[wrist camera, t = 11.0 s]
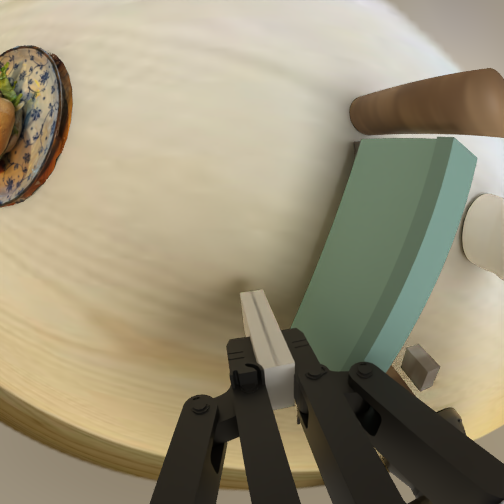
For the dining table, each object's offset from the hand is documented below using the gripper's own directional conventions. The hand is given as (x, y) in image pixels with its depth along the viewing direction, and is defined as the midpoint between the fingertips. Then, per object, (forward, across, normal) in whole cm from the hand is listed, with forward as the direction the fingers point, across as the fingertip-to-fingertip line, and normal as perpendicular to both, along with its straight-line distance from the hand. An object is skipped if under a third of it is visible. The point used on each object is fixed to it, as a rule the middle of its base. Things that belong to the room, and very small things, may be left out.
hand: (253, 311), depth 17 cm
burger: (+4, -16, +14) cm, 22 cm away
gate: (+1, +6, +3) cm, 6 cm away
